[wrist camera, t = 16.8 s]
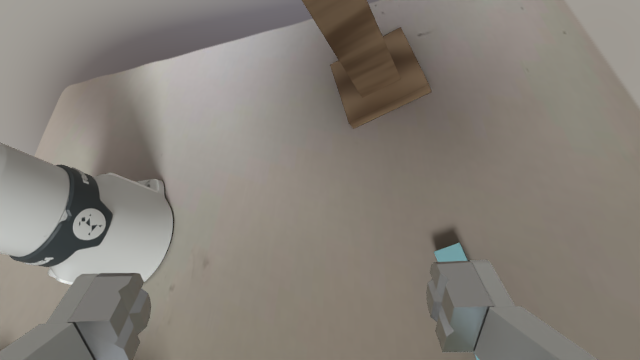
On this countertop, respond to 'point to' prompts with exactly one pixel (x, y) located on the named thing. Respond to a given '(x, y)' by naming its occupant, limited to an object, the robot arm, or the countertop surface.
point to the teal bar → (451, 256)
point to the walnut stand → (367, 60)
